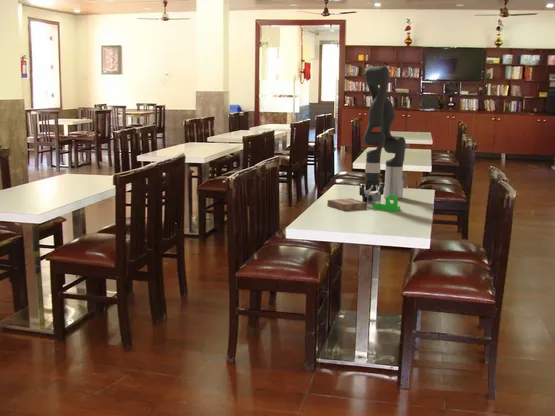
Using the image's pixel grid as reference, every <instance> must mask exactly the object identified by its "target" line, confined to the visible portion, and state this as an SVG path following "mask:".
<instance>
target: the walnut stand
mask: <svg viewBox="0 0 555 416" xmlns="http://www.w3.org/2000/svg"><path fill="white" fill-rule="evenodd" d="M326 203H327V205H326V206H327V207H330V208H333V209H336V210H340V211H343V212H344V211H354V210H355V211H356V210H367V208H368V206H367V203H366V202H362V200H358V199H354V198H351V197H350V198H340V199H337V198H336V199H328V200H327V202H326Z"/></svg>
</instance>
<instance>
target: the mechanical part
mask: <svg viewBox="0 0 555 416" xmlns="http://www.w3.org/2000/svg"><path fill="white" fill-rule="evenodd" d="M391 199H392V200H393V203H392V202H391ZM398 204H399V198H398V199H397V197H396V196H395V195H389V196H387V198H385V203H381V204H375V205H373V207H372V209H373V210H378V209H379V210H378V211H388V212H394V213H395V212H398V211H400V210H401V206H400V205H398Z"/></svg>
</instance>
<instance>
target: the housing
mask: <svg viewBox="0 0 555 416" xmlns="http://www.w3.org/2000/svg"><path fill="white" fill-rule="evenodd" d="M361 197H362V198H361V199H362V200H361V201H362V202H363V196H361ZM375 204H382V195H379V194H375V192H370V193H369V194H368V195H367V207H371V208H373V205H375Z"/></svg>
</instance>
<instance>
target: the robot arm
mask: <svg viewBox="0 0 555 416" xmlns="http://www.w3.org/2000/svg"><path fill="white" fill-rule="evenodd" d="M364 77H365V81H366V85H367V87H368V90H369V93H370V95H371V99H372V103H371V104H370V107H369V111H368V121H367V122H368V123H367V127H366V130H365V132H364V135H363V143H364V145H366V146H368V147H371V146H372V147H374V146H375V147H376V146H377V147H376V148H375V149H371V150H368V151H367V152H366V158H365V159H366V160H365V167H364V168H365V170H364V171H365V173H364V181H365V182H364V183H359V193H358V194H359V196H361V197H362V196H363V202H366V203H367V195H368V194H369V193H370V192H371V193H375V194H379V195H381V196H382V195H383V198H385V199H386V198H387V196H389V195H395V196H396V197H397V199H398V200H399V199H402V198H403V197H404V181H405V180H403V171H404V170H403V169H404V161H405V155H406V146H407V145H406V144H407V143H406V139H405V138H404V136H395V135H392V133H391V127H392V125H393V124H394V123H393V122H394V120H395V117H396V113H395V109H394V105H393V103H392V101H391V100H390V98H389V97H387V92H388V87H389V81H390V71H389V68H388V67H387V66H386V65H381V66H378V65H377V66H369V67H367V68H366V69H365V74H364ZM375 128H380V131H372V130H374V129H375ZM383 149H384V151H385V153H389V154H394V157H393V158H390V159H387V160H386V162H385V169H384V170H385V172H384V182H380V180H381V156H382V155H381V154H382V150H383Z"/></svg>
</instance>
